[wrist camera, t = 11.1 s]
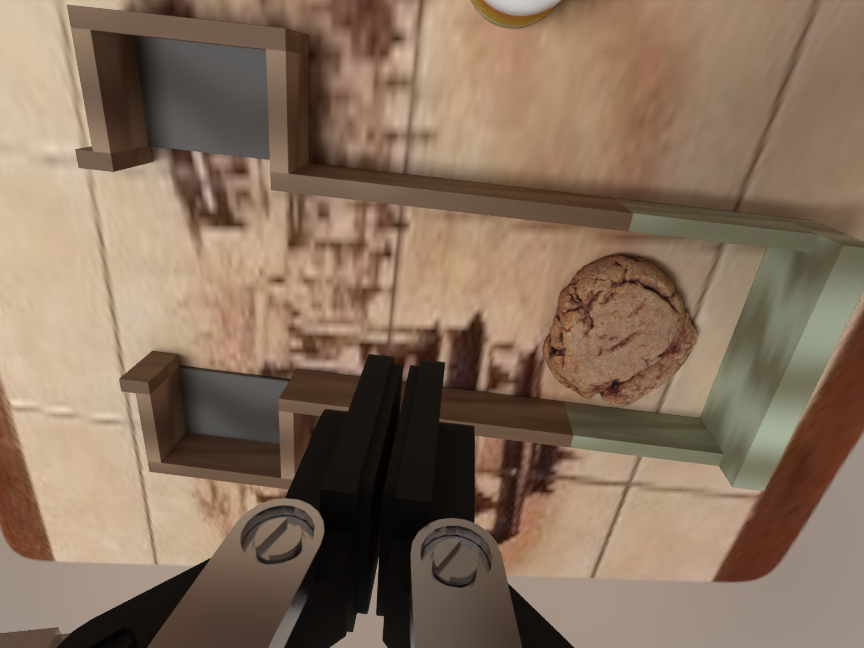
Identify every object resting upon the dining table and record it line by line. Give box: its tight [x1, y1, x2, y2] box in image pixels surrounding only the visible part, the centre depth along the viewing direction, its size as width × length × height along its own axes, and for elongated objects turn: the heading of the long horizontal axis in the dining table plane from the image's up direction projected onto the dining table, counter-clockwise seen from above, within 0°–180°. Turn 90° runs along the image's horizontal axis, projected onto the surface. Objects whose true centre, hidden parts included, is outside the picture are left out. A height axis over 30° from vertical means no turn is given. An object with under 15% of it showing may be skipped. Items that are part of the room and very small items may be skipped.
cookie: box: [543, 255, 697, 407], centre depth 34 cm, size 10×11×3 cm
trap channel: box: [67, 5, 864, 491], centre depth 33 cm, size 30×43×6 cm
